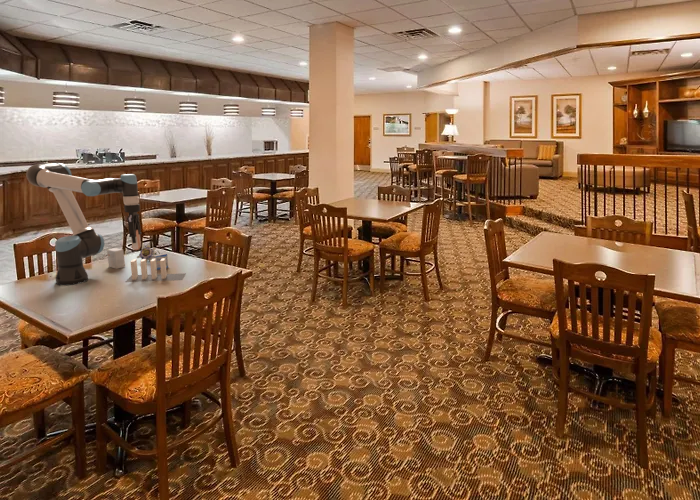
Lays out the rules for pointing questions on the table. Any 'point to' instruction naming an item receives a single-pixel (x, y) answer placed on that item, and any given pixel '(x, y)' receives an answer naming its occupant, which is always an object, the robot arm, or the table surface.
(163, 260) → the domino
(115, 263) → the small box
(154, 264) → the domino
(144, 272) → the domino
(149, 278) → the domino mat
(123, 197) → the robot arm
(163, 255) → the medicine box
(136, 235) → the terracotta domino
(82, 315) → the table surface
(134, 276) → the domino
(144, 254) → the passion flower
